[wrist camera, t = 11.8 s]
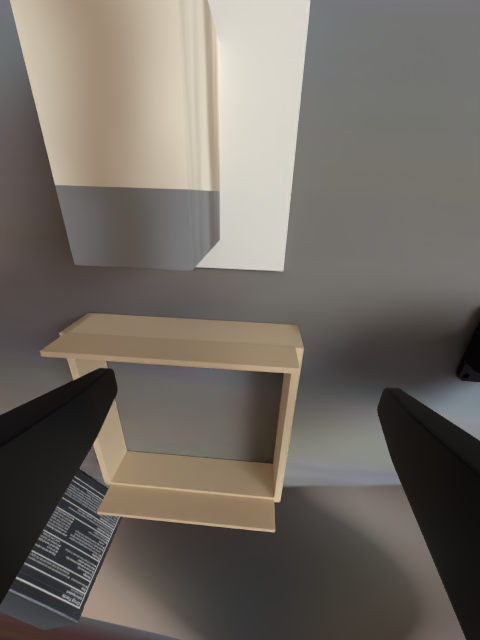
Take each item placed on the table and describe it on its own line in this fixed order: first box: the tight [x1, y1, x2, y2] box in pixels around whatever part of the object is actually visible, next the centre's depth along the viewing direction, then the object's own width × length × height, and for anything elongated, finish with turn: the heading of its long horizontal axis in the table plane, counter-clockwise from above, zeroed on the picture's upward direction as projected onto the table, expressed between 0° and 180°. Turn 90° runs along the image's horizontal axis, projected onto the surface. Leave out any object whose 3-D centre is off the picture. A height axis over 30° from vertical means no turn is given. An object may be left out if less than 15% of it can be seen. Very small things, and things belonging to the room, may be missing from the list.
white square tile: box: [196, 0, 310, 271], centre depth 16 cm, size 14×14×1 cm
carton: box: [40, 313, 304, 532], centre depth 22 cm, size 17×17×6 cm
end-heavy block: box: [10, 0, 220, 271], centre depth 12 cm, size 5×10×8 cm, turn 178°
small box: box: [0, 470, 122, 630], centre depth 28 cm, size 11×6×10 cm, turn 39°
